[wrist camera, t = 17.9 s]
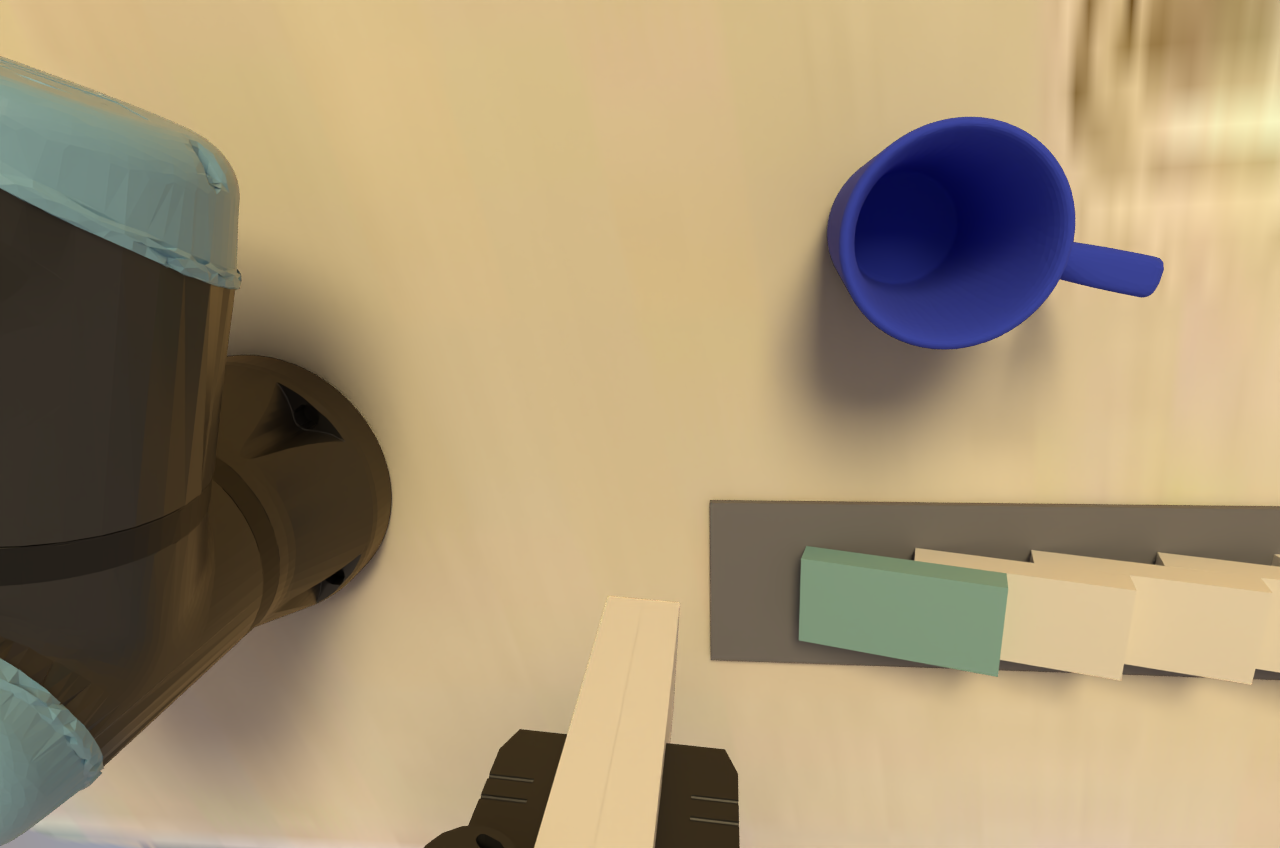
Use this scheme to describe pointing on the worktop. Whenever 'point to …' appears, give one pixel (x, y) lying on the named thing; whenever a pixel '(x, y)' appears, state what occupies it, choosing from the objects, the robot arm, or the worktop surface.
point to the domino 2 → (1187, 617)
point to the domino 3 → (1276, 644)
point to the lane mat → (780, 531)
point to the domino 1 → (1058, 613)
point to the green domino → (903, 609)
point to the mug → (966, 235)
